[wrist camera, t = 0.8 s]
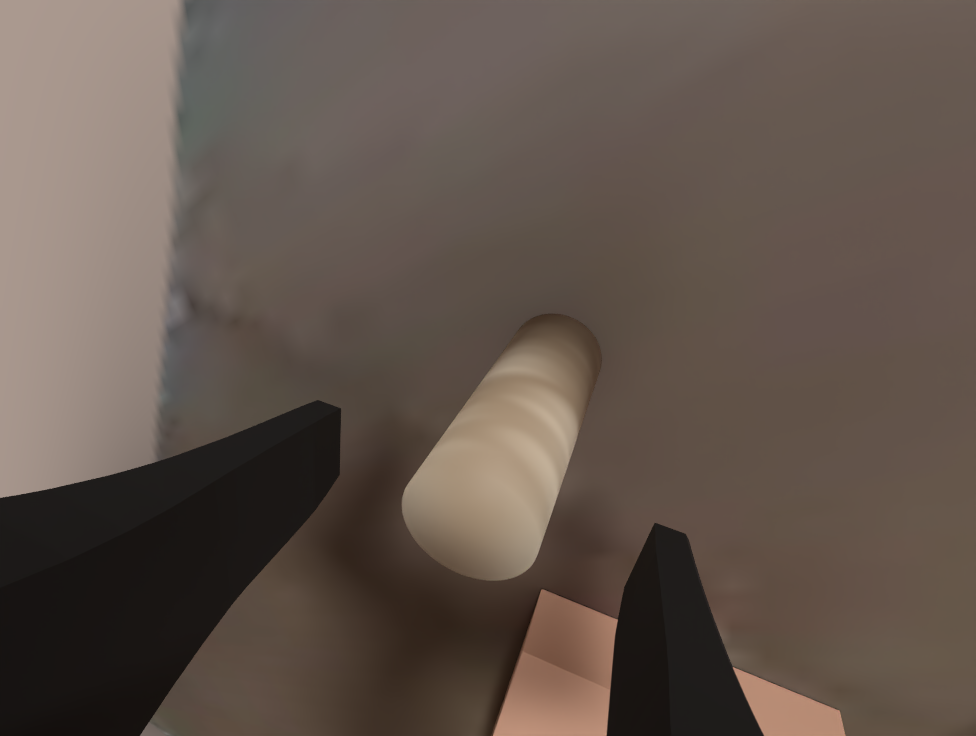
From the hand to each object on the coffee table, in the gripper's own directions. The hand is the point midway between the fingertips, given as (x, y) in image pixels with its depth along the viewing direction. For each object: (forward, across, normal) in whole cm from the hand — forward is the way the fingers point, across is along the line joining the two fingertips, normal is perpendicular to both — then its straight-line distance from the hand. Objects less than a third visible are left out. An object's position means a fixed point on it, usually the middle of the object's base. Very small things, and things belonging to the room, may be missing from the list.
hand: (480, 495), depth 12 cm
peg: (+7, 0, 0) cm, 7 cm away
